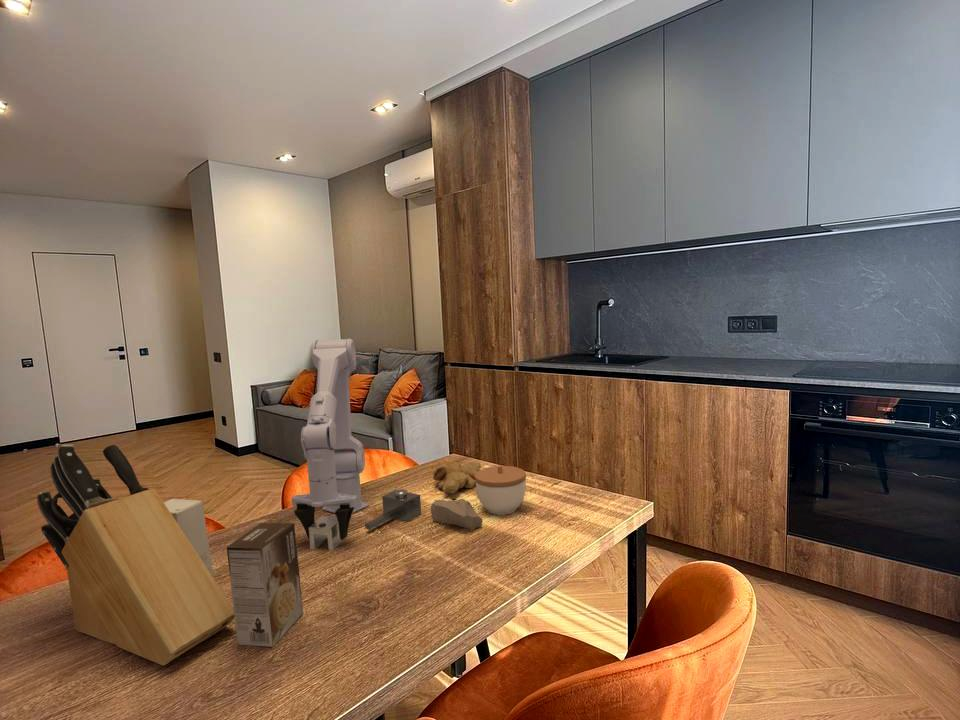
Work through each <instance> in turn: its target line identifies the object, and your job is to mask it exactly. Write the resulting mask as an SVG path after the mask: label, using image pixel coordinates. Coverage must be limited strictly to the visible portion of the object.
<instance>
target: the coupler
mask: <svg viewBox="0 0 960 720" xmlns="http://www.w3.org/2000/svg"><path fill="white" fill-rule="evenodd" d="M381 498H382V511H383V514H382V515H379V516H378V517H376V518H374V519H372V520H370V521H367V522H365V523H364V526H365V527H364V528H365V530H368V531H370V530H372V529H374V528H376V527H378V526H380V525H383V524H384V523H386V522H387V521H389V520H392V519H395V520H398V521H403V522H407V523H408V522H410V521H412V520H414V519H416V518H418V517H419V516H421V515H422V505H421V504H422V503H421V494H417V493H413V492H409V491H408V490H407V489H403V488H402V489H401V488H400V489H394V490H393V491H391V492H389V493H386V494H384V495H382V497H381Z"/></svg>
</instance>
